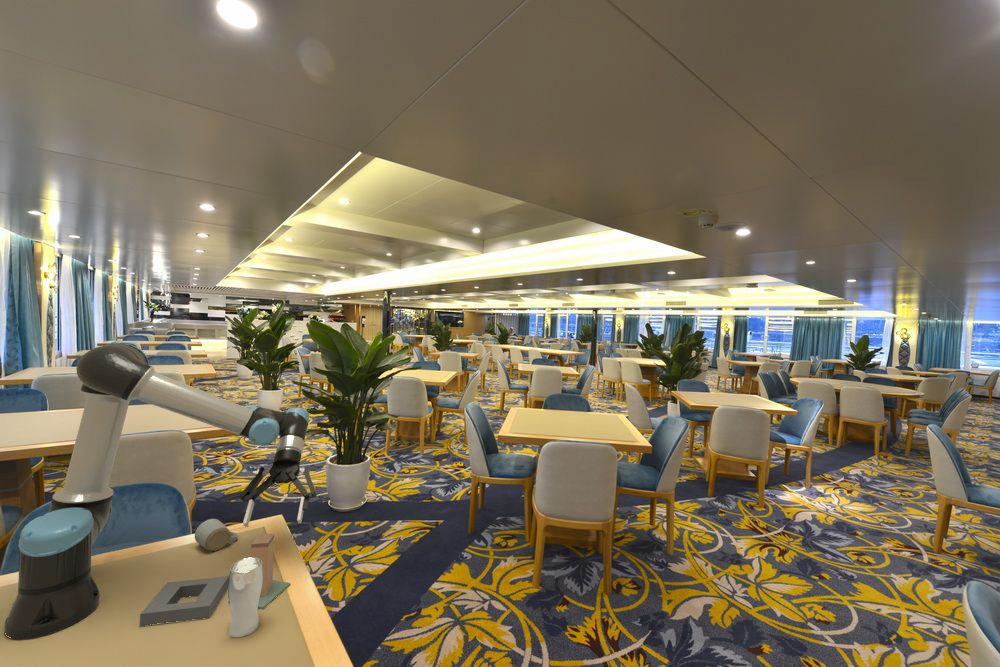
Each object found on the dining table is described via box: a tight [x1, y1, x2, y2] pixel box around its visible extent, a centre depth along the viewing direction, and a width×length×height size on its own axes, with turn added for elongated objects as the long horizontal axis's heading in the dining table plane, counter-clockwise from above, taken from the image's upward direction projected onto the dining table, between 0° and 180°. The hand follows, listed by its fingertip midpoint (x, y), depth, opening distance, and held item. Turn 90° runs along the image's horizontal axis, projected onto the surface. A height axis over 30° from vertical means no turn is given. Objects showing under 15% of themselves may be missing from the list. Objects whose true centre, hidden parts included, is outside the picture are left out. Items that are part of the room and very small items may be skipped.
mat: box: [228, 579, 291, 610], centre depth 107 cm, size 10×10×1 cm
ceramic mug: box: [194, 518, 239, 552], centre depth 130 cm, size 11×8×8 cm
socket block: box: [139, 575, 229, 627], centre depth 102 cm, size 14×12×3 cm
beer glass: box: [227, 556, 263, 639], centre depth 95 cm, size 7×7×15 cm
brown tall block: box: [250, 533, 275, 597], centre depth 107 cm, size 4×5×14 cm
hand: (272, 523), depth 114 cm, fingers open, 13 cm apart
